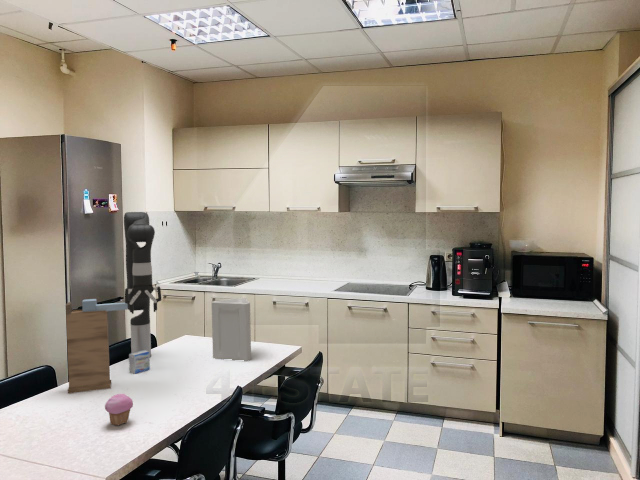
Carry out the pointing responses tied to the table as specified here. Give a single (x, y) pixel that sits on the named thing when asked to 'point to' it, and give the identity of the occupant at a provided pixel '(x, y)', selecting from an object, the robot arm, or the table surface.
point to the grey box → (231, 329)
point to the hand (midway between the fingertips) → (143, 312)
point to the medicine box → (139, 362)
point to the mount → (87, 350)
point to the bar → (102, 306)
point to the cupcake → (119, 408)
